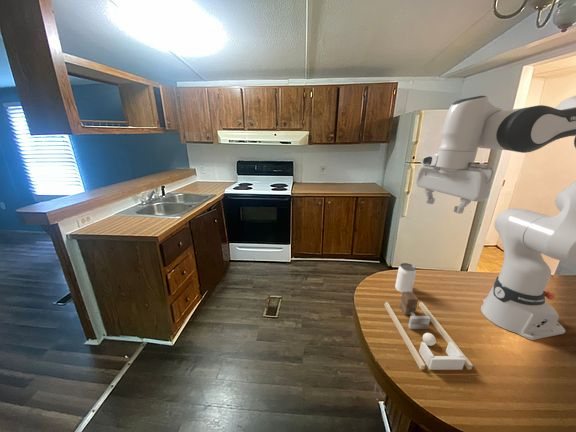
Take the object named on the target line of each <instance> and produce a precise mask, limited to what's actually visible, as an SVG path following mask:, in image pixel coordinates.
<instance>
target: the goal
mask: <svg viewBox="0 0 576 432" xmlns="http://www.w3.org/2000/svg"><path fill="white" fill-rule="evenodd" d="M428 346H429V345H427V344H426V343H425V342H424V341H420V346H419V350H418V354H419V355H420V357H421V359H422V361H423V362H424V364H425V365H426V366H427V368H428V370H429V371H430V370H431V371H433V370H434V371H435V370H436V371H437V370H441V371H442V370H444V371H445V370H447V371H448V370H449V371H450V370H454V371H455V370H457V371H459V370H461V371H462V370H463V369H464V367H465V365H464V363H465V360H466V359H465V358H464V356H463V355H462V354H461V353H460V351H459V350H458V349H457V348H456V346H455V345H454V344H453V342H449V343H447V346H446V349H445V353H446V354H447V355H434V354H433V352H432V350H431V349H430V348H429V347H428Z"/></svg>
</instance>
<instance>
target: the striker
mask: <svg viewBox="0 0 576 432" xmlns="http://www.w3.org/2000/svg"><path fill="white" fill-rule="evenodd" d="M418 301H419V299H418V297H417V296H416V294H415V292H413V291H412V292H403V293H401V298H400V302H399V309H400V310H401V311H402V314H403V315H404V316H409V320H408V324H407V327H408V329H410V330H428V329H429V327H430V326H429V325H430V322H431V321H430V317H429V316H426V315H416V312H417V311H416V309H417V305H418V303H419V302H418Z"/></svg>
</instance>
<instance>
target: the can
mask: <svg viewBox="0 0 576 432" xmlns="http://www.w3.org/2000/svg"><path fill="white" fill-rule="evenodd" d="M416 275H417V269H416V266H415V265H413V264H411V263H406V262H403V263H400V265H399V266H398V270H397V275H396V280H395V285H394V287H395V288H394V289H396V290H397V291H398V292H399V293H401V294H402V293H403V292H413V289H414V284H415V280H416Z"/></svg>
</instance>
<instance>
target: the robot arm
mask: <svg viewBox="0 0 576 432" xmlns="http://www.w3.org/2000/svg"><path fill="white" fill-rule="evenodd" d="M441 137H442V139H441V144H440V145H439V147H438V149H437V153H434V154H431V155H426V156H423V157H422V158H421V159H420V164H421V165H420V167H419V168H418V171H417V176H416V182H415V183H416V186H417V187H419V188H422V189H425V190H424V193H425V196H426V200H425V201H426V202H425V203H426V204H428V205H434V204H435V201H436V198H434V197H433V196H434V195H433V193H434V192H437V193H441V194H444V195H449V196H451V197H452V196H453V197H457V198H460V200H459V202H461V203H460V204H459V205H455V206H454V209H453V212H454V213H456V214H463V213H464V210H465V208H466V207H467V206H468V205H470V204H471V202H483V201H486V200H487V199H488V198H489V195H490V190H491V184H492V179H493V177H494V169H493V168H492V167H491V166H490V165H488V164H480V163H476V162H475V161H476V156H477V153H478V149H479V148H480V149H487V150H489V149H490V150H501V151H511V152H515V153H522V154H524V153H526V154H527V153H532V152H534V151H538V150H539V149H542V148H544V147H545V146H547V145H550V144H551V143H552V142H555V141H557V140H560V139H563V138H568V137H574V139H573V145H574V147H575V149H576V95H574V96H571V97H568V98H565V99H564V100H562V101H561V102H559V104H558V105H557V106H556V107H552V106H548V105H543V104H542V105H540V104H539V105H533V106H528V107H521V108H513V109H504V110H503V109H501V108H499V107H497V106H495V105H493V104H492V103H491V101H489V97H488V95H479V96H478V95H477V96H472V97H467V98H462V99H461V98H460V99H459V100H458V99H457V100H456V101H454V102H453V103H451V105H450V106H449V109H448V111H447V113H446V116H445V119H444V123H443V127H442V131H441ZM554 202H555V203H554V204H555V206H556V207H557V210H559V211H560V212H559V213H557V214H556V215H554V216H551V215H546V214H543V213H540V212H537V211H533V210H529V209H523V208H515V207H511V208H506V209H504V210H502V211H501V212H500V213H499V214H498V215H496V217H495V219H494V223H493V224H494V229H495V230H496V232H497V233H498V235H499V237H500V239H501V242H502V247H503V262H502V265H501V268H500V271H499V274H498V276H497V277H496V278H495V280H494V282H493V286H492V287H491V289H490V291H489V292H488V294H487V297H484V298H483V300H482V303H483V304H482V305H481V307H480V311H481V313H482V314H483V316H484V317H485V318H486V319H487V320H489V321H490V322H491V323H492V324H494V325H496V326H498V327H500V328H502V329H504V330H506V331H509V332H512V333H515V334H518V335H520V336H522V337H523V338H525V339H527V340H531V341H535V340H540V339H545V338H549V337H553V336H554V337H555V336H559V335H563V334H565V333H566V329H565V328H564V327H563V325H562V324H560V323H559V318H560V315H559V313H558V312H557V310H556V309H555V308H554V307H553V306H552V305H550V303H548V302H547V301H546V298H547V299H548V300H554V299H555V298H556V295H555V294H553V293H552V292H550V291H549V290H547V291H545V290H546V287H547V285H548V283H549V281H550V279H551V276H552V270H551V267H550V265H548V263H547V262H546V261H545V260H544V258H543V255H544V256H547V257H549V258H551V259H554V260H557V261H561V262H565V263H569V264H572V265H576V180H574V182H572V183H570V184H569V185H568V186H567V187H566V188H564V189H562V190H561V191H560V192H558V193H557V195H556V197H555V200H554Z"/></svg>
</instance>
